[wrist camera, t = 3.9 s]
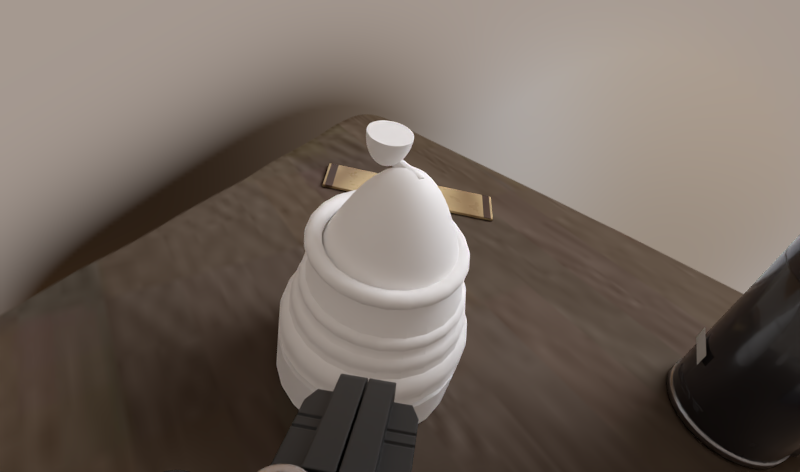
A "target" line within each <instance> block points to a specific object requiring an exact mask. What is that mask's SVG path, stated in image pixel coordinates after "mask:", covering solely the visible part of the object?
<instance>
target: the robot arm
mask: <svg viewBox="0 0 800 472" xmlns="http://www.w3.org/2000/svg"><path fill="white" fill-rule="evenodd" d="M667 390H668V395H669V398H670V400H671V403H672V405H673V407H674V409H675V411H676V413H677V414H678V416H679V417H680V419H681V420H682V421H683V423H684V424H685V425H686V427H687V428H688V429H689V430H690V431H691V432H692V433H693V434H694V435H695V436H696V437H697V438H698V439H699V440H700V441H701V442H702V443H704V444H705V445H706V446H707V447H709V448H710V449H711V450H713V451H714V452H716V453H717V454H719V455H720V456H722V457H724V458H726V459H728V460H730V461H732V462H734V463H737V464H739V465H742V466H745V467H750V468H755V469H768V468H772V467H775V466H777V465H778V464H780V463H781V462H783V461H784V460H786V459H787V458H788V457H789V456H794V457H797V456H799V455H800V235H799V236H798V237H797V238H796V239H795V241H793V242H792V243H791V244H790V246H789V247H788V248H787V249H786V250H785V251H784V252H783V253H782V254H781V255H780V256H779V257H778V258H777V259H776V261H775V262H774V263H773V264H772V265H771V266H770V267H769V268H768V269H767V270H766V271H765V272H764V273H763V274H762V275H761V276H760V277H759V278H758V280H757V281H756V282H755V283H754V284H753V285H752V286H751V287H750V288H749V289H748V290H747V291H746V292H745V293H744V294H743V295H742V296H741V297H740V298H739V299H738V300H737V302H736V303H735V304H734V305H733V306H732V307H731V308H730V309H729V310H728V311H727V312H726V313H725V314H724V315H723V316H722V317H721V318H720V319H719V320H718V322H717V323H716V324H715V325H714V326H713V327H712V328H711V329H710V330H709V331H708V332H707V333H706V334H705V328H704V329H703V330H702V331H701V332H700V333H699V335H698V336H697V337H696V345H695V346H694V347H693V348H692V349H691V350H690V351H689V352H688V353H687V354H686V355H685V356H684V357H683V358H681V359H680V360H679V361H678V362H676V364H675V365H674V366H673V367H672V368H671V369H670V371H669V373H668V376H667ZM395 391H396V383H395V382H389V381H383V380H377V379H372V378H370V379H369V381H368V378H365V377H359V376H354V375H348V374H341V375H340V377H339V379H338V381H337V384H336V386H335V388H334V390H333V391H327V390H322V389H317V390H316V391H315V392H313V393H312V394H311V395H309V396H308V397H307V398H305V399H304V401H303V403H302V405H301V407H300V409H299V411H298V414H297V415H296V417H295V419H294V421H293V423H292V426H290V428H289V430H288V432H287V434H286V436H285V438H284V440H283V442H282V444H281V446H280V448H279V450H278V452H277V454H276V456H275V458H274V459H273V461H272V463H271V465H270V466H267V467H265V468H263V469H261V470H259V471H258V472H411V471H412V464H413V456H414V449H415V442H416V435H417V428H418V421H419V419H418V417H417V414H416V412H415V410H414V408H413V405H407V404H401V403H396V402H394V399H395ZM165 472H189V471H185V470H170V471H165Z"/></svg>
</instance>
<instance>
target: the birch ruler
mask: <svg viewBox="0 0 800 472" xmlns="http://www.w3.org/2000/svg"><path fill="white" fill-rule="evenodd" d="M377 174H378V173H374V172H369V171H365V170H360V169H355V168H350V167H346V166H341V165H337V164H331V163H330V164H329V167H328V170H327V173H326V176H325V179H324V182H323V187H328V188H333V189H338V190H343V191H348V192H349V191H353V190H357V189H358V188H359V187H360V186H361V185H363V184H364V183H365V182H366V181H367V180H369V179H370V178H372V177H373V176H375V175H377ZM438 188H439V189H440V191H441V192H442V194H443V196H444V198H445V200H446V203H447V205H448V208H449V211H450V213H455V214H459V215H464V216H469V217H474V218H479V219H484V220H489V221H492V220H493V217H492V207H491V197H489V196H485V195H480V194H475V193H470V192H465V191H460V190H456V189H451V188H446V187H441V186H438Z"/></svg>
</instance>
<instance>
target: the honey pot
mask: <svg viewBox="0 0 800 472" xmlns="http://www.w3.org/2000/svg"><path fill="white" fill-rule="evenodd" d="M413 141H414V134H413V133H412V131H411V130H410V129H409V128H407V127H406V126H404V125H402V124H399V123H397V122H393V121H385V120H381V121H375V122H372V123H370V124H369V125H368V127H367V131H366V142H367V147H368V151H369V153H370V155H371V157H372V158H373V159H374V160H375V161H376V162H377V163H379V164H380V165H383V166H393V167H392V168H389V169H386V170H384V171H382V172H380V173H378V174H377V175H375V176H373V177H372V178H370V179H369V180H367V181H366V182H365V183H364V184H363V185H361V186H360V187H359V188H358V189H357V190H353V191H349V192H346V193H342V194H339V195H336V196H334V197H333V198H331V199H329V200H327V201H325V202H324V203H322V204H321V205H320V206H319V207H318V208H317V209H316V210H315V211H314V212H313V213H312V214H311V216H310V219H309V221H308V223H307V225H306V228H305V230H304V248H305V251H306V252H305V254H304V257H303V259H302V262H301V263H300V264H299V266H298V269H297V271H296V272H295V273H294V274H293V276H292V277H291V278H290V279H289V282H288V284H287V286H286V289H285V291H284V293H283V296H282V298H281V301H280V312H279V328H278V344H277V361H276V366H277V370H278V374H279V378H280V381H281V385H282V387H283V389H284V390H285V392H286V393H287V395H288V397H289V398H290V400H291V401H292V403H293V405H294V406H296V407H297V408H298V409H300V407H301V405H302V403H303V401H304V399H305V398H307V397H308V396H309V395H311V394H312V393H313V392H315V391H316V390H317V389H322V390H327V391H333V390H334V388H335V386H336V384H337V381H338V379H339V377H340V375H341V374H348V375H354V376H359V377H365V378H368V381H369V379H370V378H372V379H377V380H383V381H389V382H395V383H396V391H395V399H394V402H396V403H401V404H407V405H413V408H414V410H415V412H416V414H417V417H418V419H419V421H418V424H419V423H421V422H422V421H424V420H425V419H427V417H428V416H429V415H430V414H431V413H432V412H433V410H434V409H435V408H436V407H437V406H438V404H439V403H440V401H441V399H442V397H443V395H444V393H445V391H446V388H447V386H448V384H449V382H450V380H451V378H452V375H453V373H454V371H455V369H456V366H457V364H458V362H459V360H460V357H461V355H462V352H463V350H464V347H465V344H466V330H467V319H466V315H465V298H466V287H465V284H464V279H465V277H466V275H467V273H468V271H469V259H470V252H469V249H468V246H467V242H466V239H465V237H464V235H463V234H462V232H461V231H460V229H459V228H458V226H457V225H456V223H455V222H454V221H452V218H451V214H450V211H449V208H448V205H447V203H446V200H445V198H444V196H443V194H442V192H441V191H440V189H439V188H438V186H437V185H436V183H435V182H434V181H433V179H432V178H431V177H429V176H428V175H427V174H426V173H425V172H423V171H422V170H420V169H417V168H415V167H412V166H410V165H409V164H408V163H407V162H405V161H404V160H403V159H404V157H405V156H406V155H407V154H408V152H409V150H410V149H411V146H412V144H413ZM331 218H332V219H331ZM330 219H331V220H330ZM329 220H330V221H329ZM328 221H329V223H328V224H327V225H326V227H325V224H326V223H327V222H328ZM324 227H325V228H324ZM323 229H324V230H323Z"/></svg>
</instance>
